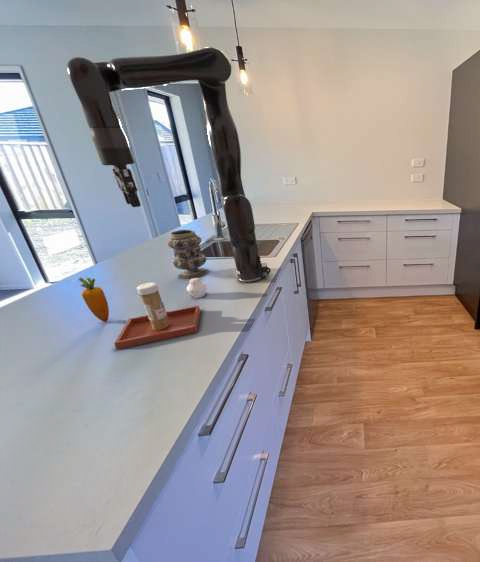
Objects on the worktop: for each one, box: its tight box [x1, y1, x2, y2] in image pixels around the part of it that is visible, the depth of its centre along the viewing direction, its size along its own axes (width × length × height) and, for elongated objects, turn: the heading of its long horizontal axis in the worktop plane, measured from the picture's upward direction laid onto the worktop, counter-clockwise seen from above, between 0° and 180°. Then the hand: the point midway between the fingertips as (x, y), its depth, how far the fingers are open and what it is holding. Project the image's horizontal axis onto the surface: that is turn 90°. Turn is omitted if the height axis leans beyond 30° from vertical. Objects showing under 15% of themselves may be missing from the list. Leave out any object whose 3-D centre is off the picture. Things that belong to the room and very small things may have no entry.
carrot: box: [77, 277, 110, 323], centre depth 89 cm, size 5×5×15 cm
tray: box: [114, 305, 201, 350], centre depth 87 cm, size 19×14×2 cm
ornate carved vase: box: [166, 229, 208, 279], centre depth 122 cm, size 12×12×18 cm
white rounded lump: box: [186, 277, 208, 299], centre depth 105 cm, size 6×6×7 cm
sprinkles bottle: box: [136, 282, 170, 330], centre depth 85 cm, size 5×5×14 cm
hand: (134, 205), depth 90 cm, fingers open, 8 cm apart
